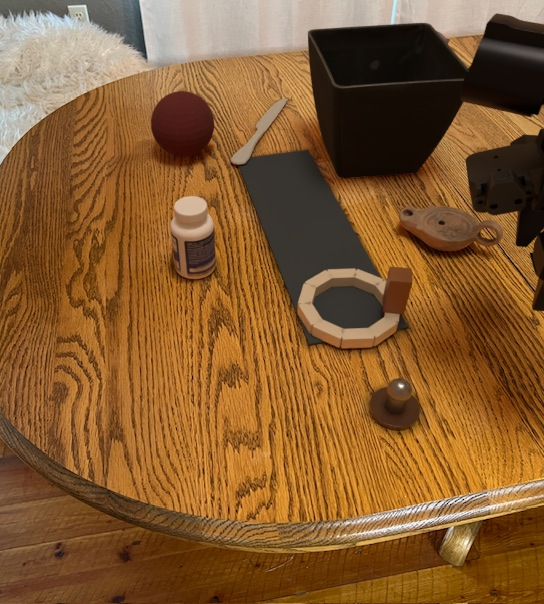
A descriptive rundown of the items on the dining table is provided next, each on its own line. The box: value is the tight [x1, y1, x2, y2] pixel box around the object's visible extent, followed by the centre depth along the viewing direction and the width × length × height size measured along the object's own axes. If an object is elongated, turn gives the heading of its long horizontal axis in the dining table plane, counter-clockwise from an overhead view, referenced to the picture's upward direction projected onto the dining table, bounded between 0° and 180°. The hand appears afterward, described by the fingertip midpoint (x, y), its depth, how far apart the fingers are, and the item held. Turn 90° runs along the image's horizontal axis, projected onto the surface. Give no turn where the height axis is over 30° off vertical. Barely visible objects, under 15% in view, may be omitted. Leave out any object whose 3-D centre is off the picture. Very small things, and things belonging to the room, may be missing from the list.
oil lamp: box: [398, 204, 504, 252], centre depth 79 cm, size 13×8×5 cm, turn 55°
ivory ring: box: [296, 265, 413, 349], centre depth 69 cm, size 12×12×7 cm
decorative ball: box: [150, 90, 215, 158], centre depth 95 cm, size 10×10×10 cm
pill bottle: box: [169, 195, 217, 280], centre depth 75 cm, size 5×5×10 cm
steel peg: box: [368, 377, 421, 431], centre depth 60 cm, size 5×5×4 cm
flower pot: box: [307, 22, 469, 179], centre depth 90 cm, size 19×19×17 cm
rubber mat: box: [237, 149, 410, 346], centre depth 83 cm, size 40×12×1 cm, turn 11°
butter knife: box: [230, 98, 289, 166], centre depth 102 cm, size 1×24×3 cm
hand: (528, 276), depth 58 cm, fingers open, 9 cm apart
